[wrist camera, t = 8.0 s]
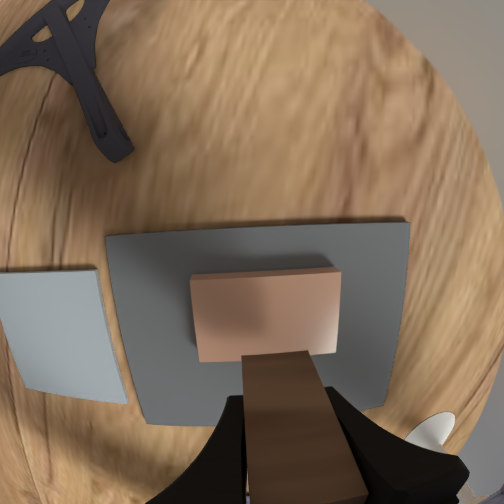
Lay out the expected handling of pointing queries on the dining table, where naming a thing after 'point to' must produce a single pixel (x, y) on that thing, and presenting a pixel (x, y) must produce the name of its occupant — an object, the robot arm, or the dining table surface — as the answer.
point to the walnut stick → (294, 435)
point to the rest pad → (61, 334)
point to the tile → (265, 312)
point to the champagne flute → (440, 445)
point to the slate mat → (247, 260)
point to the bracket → (71, 65)
